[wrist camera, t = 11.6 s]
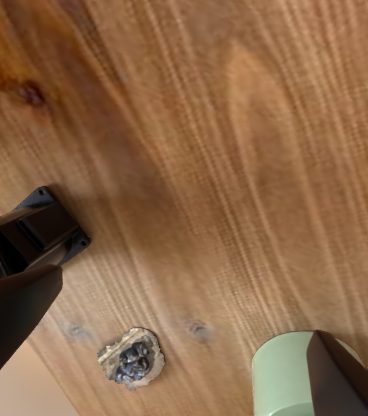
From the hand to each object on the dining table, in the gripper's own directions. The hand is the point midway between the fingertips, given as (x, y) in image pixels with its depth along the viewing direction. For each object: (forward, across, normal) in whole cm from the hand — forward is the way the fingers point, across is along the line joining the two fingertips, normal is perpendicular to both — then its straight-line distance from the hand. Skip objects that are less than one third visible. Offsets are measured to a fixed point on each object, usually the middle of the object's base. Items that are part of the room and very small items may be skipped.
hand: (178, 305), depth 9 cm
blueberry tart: (+12, +5, +18) cm, 22 cm away
